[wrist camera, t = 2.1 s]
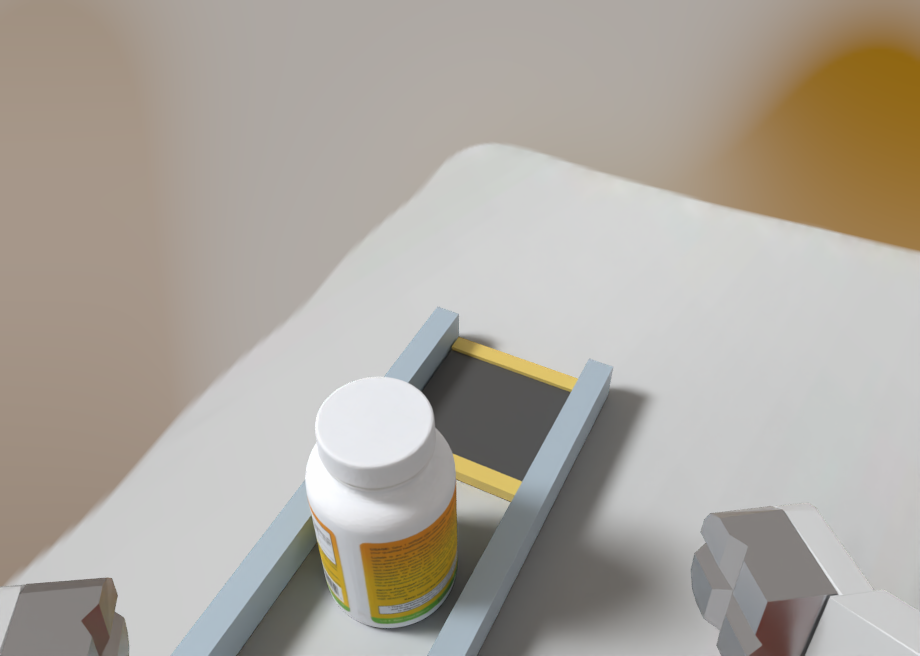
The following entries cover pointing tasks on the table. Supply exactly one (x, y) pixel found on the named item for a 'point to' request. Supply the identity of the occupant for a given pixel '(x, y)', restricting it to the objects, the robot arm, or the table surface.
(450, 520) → the supplement bottle
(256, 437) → the table surface
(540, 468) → the channel
